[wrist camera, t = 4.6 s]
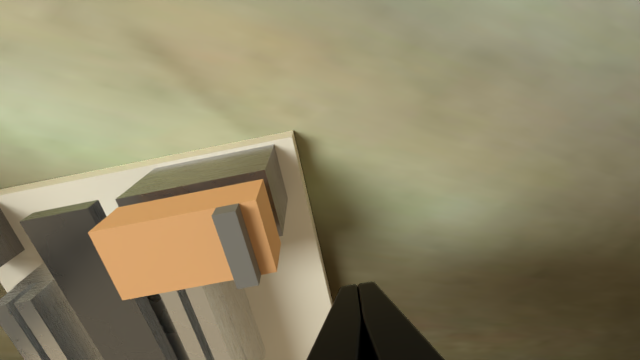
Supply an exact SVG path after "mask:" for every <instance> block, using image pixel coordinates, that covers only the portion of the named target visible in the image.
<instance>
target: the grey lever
mask: <svg viewBox="0 0 640 360" xmlns="http://www.w3.org/2000/svg"><path fill="white" fill-rule="evenodd" d="M106 217H107V216H106V214H105V212H104V210H103V208H102V206H101V204H100V202H99V200H95V201H90V202H84V203H79V204H74V205H69V206H64V207H59V208H54V209H49V210H44V211H39V212H34V213H32V214H30V215H29V216H27V217H26V218H24V219H22V220H21V221H19V222H20V224H21V226H22V227H23V229H24V231H25V232H26V234H27V235H28V237H29V239H30V240H31V242H32V243H33V245H34V247H35V248H36V250H37V252H38V253H39V255H40V256H41V258H42V260H43V261H44V263H45V265H46V266H47V268H48V269H49V271H50V273H51V274H52V276H53V278H54V279H55V281H56V282H57V284H58V286H59V287H60V289H61V291H62V292H63V294H64V295H65V297H66V299H67V300H68V302H69V304H70V305H71V307H72V308H73V310H74V312H75V313H76V315H77V317H78V318H79V320H80V321H81V323H82V325H83V326H84V328H85V330H86V331H87V333H88V334H89V336H90V338H91V339H92V341H93V342H94V344H95V346H96V347H97V349H98V351H99V352H100V354H101V355H102V357H103V359H104V360H178V359H177V357H176V355H175V353H174V351H173V349H172V347H171V345H170V343H169V341H168V339H167V337H166V334H165V332H164V330H163V328H162V326H161V324H160V322H159V320H158V318H157V316H156V314H155V312H154V310H153V308H152V306H151V304H150V302H149V300H148V298H147V296H144V297H138V298H133V299H127V300H122V299H121V297H120V295H119V293H118V291H117V289H116V287H115V285H114V283H113V281H112V279H111V277H110V275H109V273H108V271H107V269H106V267H105V265H104V263H103V261H102V259H101V257H100V255H99V254H98V252H97V250H96V248H95V246H94V244H93V242H92V240H91V238H90V236H89V234H88V232H89V231H90V230H91V229H93V228H94V227H95V226H96V225H97V224H98V223H100V222H101V221H102V220H103V219H104V218H106Z"/></svg>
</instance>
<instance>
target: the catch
mask: <svg viewBox="0 0 640 360" xmlns="http://www.w3.org/2000/svg"><path fill="white" fill-rule="evenodd" d="M88 234H89V236H90V238H91V240H92V242H93V244H94V246H95V248H96V250H97V252H98V254H99V255H100V257H101V259H102V261H103V263H104V265H105V267H106V269H107V271H108V273H109V275H110V277H111V279H112V281H113V283H114V285H115V287H116V289H117V291H118V293H119V295H120V297H121V299H122V300H127V299H133V298H138V297H144V296H149V295H155V294H160V293H166V292H171V291H176V290H182V289H187V288H193V287H198V286H204V285H209V284H214V283H220V282H225V281H231V280H234V282H235V285H236V287H237V289H242V288H247V287H253V286H258V285H259V283H260V278H261V275H263V274H269V273H274V272H277V268H278V261H279V254H280V247H281V242H280V238H279V234H278V231H277V227H276V223H275V220H274V216H273V213H272V209H271V205H270V202H269V198H268V195H267V191H266V187H265V184H264V180H263V179H260V180H255V181H250V182H245V183H240V184H234V185H229V186H224V187H219V188H214V189H209V190H204V191H199V192H194V193H189V194H183V195H178V196H173V197H168V198H163V199H158V200H153V201H148V202H143V203H138V204H132V205H127V206H122V207H118V208H116V209H115V210H114V211H113V212H112V213H110V214H109V215H108V216H107V217H106V218H104V219H103V220H102V221H101V222H100V223H98V224H97V225H96V226H95V227H94V228H93V229H91V230H90V231H89V232H88Z"/></svg>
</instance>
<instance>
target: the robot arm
mask: <svg viewBox="0 0 640 360" xmlns="http://www.w3.org/2000/svg"><path fill="white" fill-rule="evenodd" d="M306 360H445V359H444V358H443V357H442V356H441V355H440V354H439V353H438V352H437V351H436V350H435V348H434V347H433V346H432V345H431V344H430V343H429V342H428V341H427V340H426V338H425V337H424V336H423V335H422V334H421V333H420V332H419V331H418V330H417V329H416V327H415V326H414V325H413V324H412V323H411V322H410V321H409V320H408V319H407V317H406V316H405V315H404V314H403V313H402V312H401V311H400V310H399V309H398V308H397V306H396V305H395V304H394V303H393V302H392V301H391V300H390V299H389V298H388V296H387V295H386V294H385V293H384V292H383V291H382V290H381V289H380V288H379V287H378V285H377V284H376V283H375V282H366V283H360V284H359V285H358V286H357V285H356V284H353V285H347V286H342V287H341V288H340V290H339V292H338V294H337V296H336V298H335V300H334V302H333V305H332V307H331V309H330V311H329V313H328V315H327V317H326V319H325V321H324V324H323V326H322V328H321V330H320V332H319V334H318V336H317V338H316V340H315V343H314V345H313V347H312V349H311V351H310V353H309V355H308V357H307V359H306Z"/></svg>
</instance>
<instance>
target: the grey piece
mask: <svg viewBox="0 0 640 360" xmlns="http://www.w3.org/2000/svg"><path fill="white" fill-rule="evenodd" d="M260 179H263V180H264V184H265V187H266V191H267V195H268V198H269V202H270V205H271V209H272V213H273V216H274V220H275V223H276V227H277V231H278V234H279V236H283V231H284V224H285V217H286V209H287V202H288V197H287V193H286V189H285V185H284V181H283V177H282V174H281V170H280V166H279V162H278V158H277V154H276V150H275V146H274V144H273V145H268V146H263V147H258V148H253V149H248V150H243V151H238V152H233V153H228V154H223V155H218V156H213V157H208V158H203V159H198V160H193V161H188V162H183V163H178V164H173V165H168V166H163V167H158V168H154V169H153V170H152V171H150V172H149V173H148V174H147V175H145V176H144V177H143V178H142V179H140V180H139V181H138V182H136V183H135V184H134V185H133V186H131V187H130V188H129V189H128V190H126V191H125V192H124V193H123V194H121V195H120V196H119V197H117V198H116V199H115V200H116V202H117V204H118V207H122V206H127V205H132V204H138V203H143V202H148V201H153V200H158V199H163V198H168V197H173V196H178V195H183V194H189V193H194V192H199V191H204V190H209V189H214V188H219V187H224V186H229V185H234V184H240V183H245V182H250V181H255V180H260ZM24 250H25V249H24V247H23V246H22V244H21V242H20V240H19V239H18V237H17V235H16V234H15V232H14V230H13V229H12V227H11V225H10V224H9V222H8V220H7V219H6V217H5V215H4V214H3V212H2V210H1V209H0V267H1V266H3V265H4V264H6V263H7V262H8V261H10V260H11V259H13V258H14V257H15V256H17V255H18V254H20V253H21V252H22V251H24ZM147 298H148V300H149V302H150V304H151V306H152V308H153V310H154V312H155V314H156V316H157V318H158V320H159V322H160V324H161V326H162V328H163V330H164V332H165V334H166V337H167V339H168V341H169V343H170V345H171V347H172V349H173V351H174V353H175V355H176V357H177V359H178V360H264V358H265V348H264V345H263V342H262V339H261V336H260V333H259V330H258V327H257V324H256V321H255V318H254V315H253V312H252V310H251V307H250V304H249V301H248V298H247V295H246V292H245V289H244V288H242V289H237V287H236V285H235V282H234V280H231V281H225V282H220V283H214V284H209V285H204V286H198V287H193V288H187V289H182V290H176V291H171V292H166V293H160V294H155V295H149V296H147ZM0 325H1V326H2V328H3V329H4V331H5V332H6V334H7V335H8V336H9V338H10V339H11V341H12V342H13V344H14V345H15V347H16V348H17V349H18V351H19V352H20V354H21V355H22V357H23V358H24V360H104V359H103V357H102V355H101V354H100V352H99V351H98V349H97V347H96V346H95V344H94V342H93V341H92V339H91V338H90V336H89V334H88V333H87V331H86V330H85V328H84V326H83V325H82V323H81V321H80V320H79V318H78V317H77V315H76V313H75V312H74V310H73V308H72V307H71V305H70V304H69V302H68V300H67V299H66V297H65V295H64V294H63V292H62V291H61V289H60V287H59V286H58V284H57V282H56V281H55V279H54V278H53V276H52V274H51V273H50V271H49V269H48V268H47V266H46V265H45V263H42V264H41V265H40V266H39V267H37V268H36V269H35V270H34V271H33V272H31V273H30V274H29V275H28V276H26V277H25V278H24V279H23V280H21V281H20V282H19V283H18V284H17V285H15V286H14V287H13V289H12V290H11V291H9V292H8V293H7V294H6V295H5V296H3V297H2V298H1V299H0Z"/></svg>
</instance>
